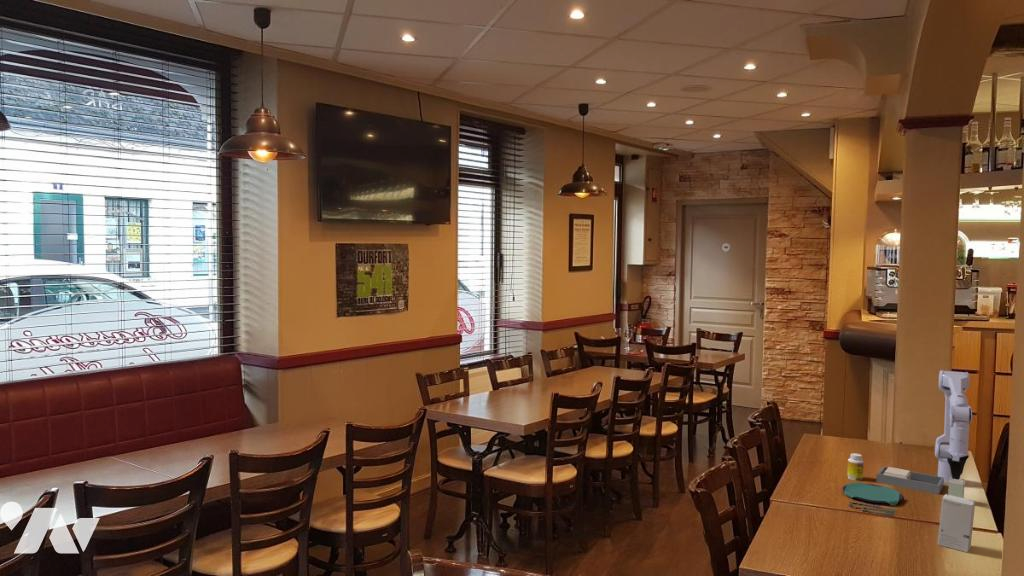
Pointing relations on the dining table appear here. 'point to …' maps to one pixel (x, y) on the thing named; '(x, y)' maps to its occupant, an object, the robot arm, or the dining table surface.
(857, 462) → the supplement bottle
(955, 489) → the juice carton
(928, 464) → the dining table surface
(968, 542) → the skincare box
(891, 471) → the beige flat block
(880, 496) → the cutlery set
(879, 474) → the tote
